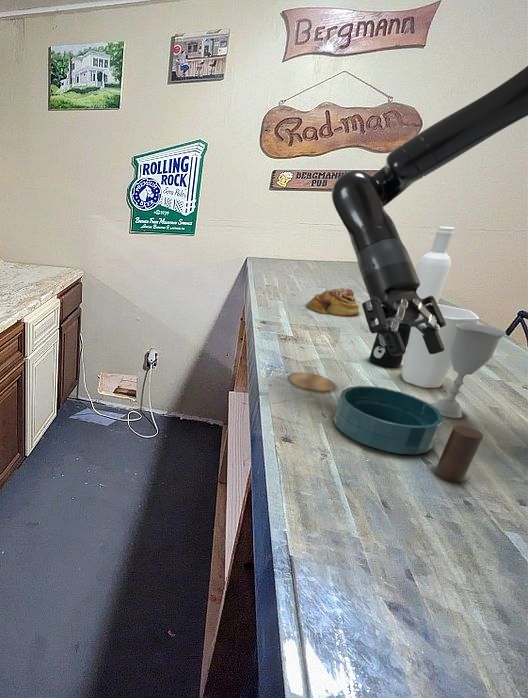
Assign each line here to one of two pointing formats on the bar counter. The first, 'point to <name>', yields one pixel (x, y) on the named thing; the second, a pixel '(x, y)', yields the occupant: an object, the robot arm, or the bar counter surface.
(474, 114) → the robot arm
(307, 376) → the coaster
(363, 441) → the bowl
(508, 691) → the bar counter surface
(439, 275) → the bottle
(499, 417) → the bar counter surface
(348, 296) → the pastry
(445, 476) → the brown cylinder
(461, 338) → the chalice
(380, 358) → the beverage can
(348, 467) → the bar counter surface
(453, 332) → the cup
